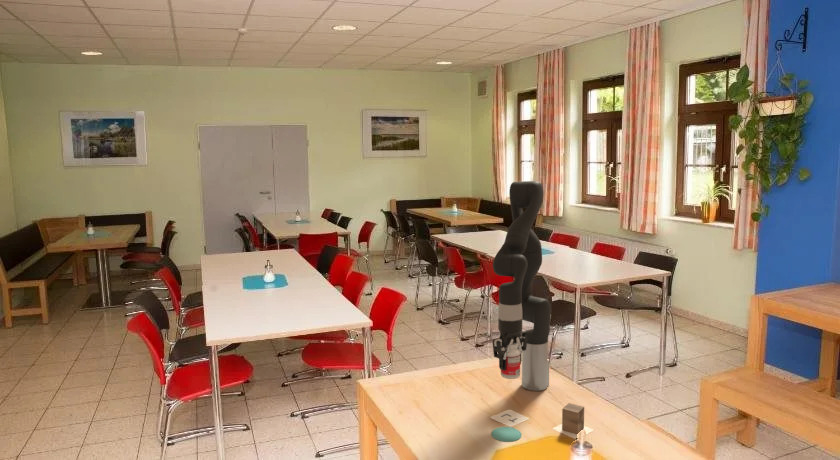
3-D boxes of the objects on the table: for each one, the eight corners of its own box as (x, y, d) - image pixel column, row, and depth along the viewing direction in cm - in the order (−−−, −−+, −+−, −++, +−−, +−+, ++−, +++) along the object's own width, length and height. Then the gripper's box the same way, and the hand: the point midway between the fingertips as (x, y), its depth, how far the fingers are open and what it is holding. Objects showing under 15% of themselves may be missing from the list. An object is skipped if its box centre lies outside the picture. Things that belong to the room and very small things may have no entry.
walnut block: (568, 424, 187) (568, 402, 186) (583, 428, 184) (584, 406, 183) (562, 430, 183) (562, 408, 182) (577, 434, 180) (578, 412, 179)
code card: (509, 409, 198) (509, 409, 198) (529, 419, 191) (529, 418, 191) (489, 417, 193) (489, 417, 193) (510, 427, 186) (510, 427, 186)
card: (570, 420, 190) (570, 419, 190) (594, 430, 183) (594, 429, 183) (551, 429, 184) (551, 428, 184) (575, 439, 178) (575, 439, 177)
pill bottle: (499, 372, 193) (499, 339, 192) (518, 372, 193) (518, 339, 192) (502, 379, 187) (502, 346, 186) (521, 379, 187) (521, 345, 186)
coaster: (505, 425, 188) (505, 424, 187) (527, 435, 181) (527, 434, 180) (485, 434, 182) (485, 432, 182) (507, 445, 175) (507, 444, 175)
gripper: (516, 309, 195) (516, 358, 197) (485, 318, 186) (486, 369, 188) (534, 314, 189) (534, 364, 191) (503, 323, 180) (503, 376, 183)
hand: (510, 366), depth 190 cm, fingers closed on pill bottle, 6 cm apart
